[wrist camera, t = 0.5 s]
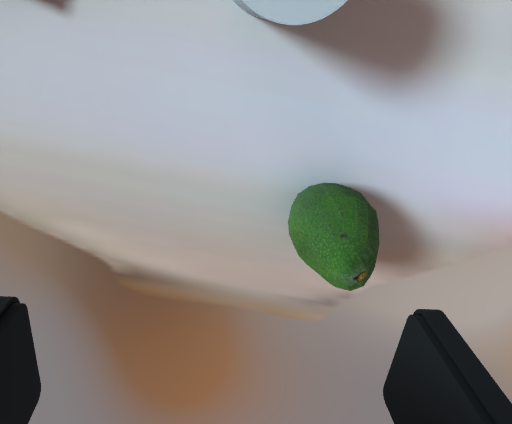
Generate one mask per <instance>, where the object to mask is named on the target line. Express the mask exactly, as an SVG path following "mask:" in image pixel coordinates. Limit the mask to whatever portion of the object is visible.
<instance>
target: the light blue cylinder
mask: <svg viewBox="0 0 512 424" xmlns="http://www.w3.org/2000/svg"><path fill="white" fill-rule="evenodd" d="M233 1H234V2H235V3H236V4H237V5H238V6H239V7H240V8H241V9H243V10H244V11H246V12H247V13H249V14H251V15H253V16H256V17H259V18H262V19H266V20H269V21H273V22H276V23H280V24H286V25H302V24H308V23H312V22H315V21H318V20H320V19H323V18H325V17H327V16H328V15H330V14H332V13H333V12H335V11H336V10H337V9H339V8H340V7H341V6H342V5H343V4H344V3H345V2H346V1H347V0H233Z"/></svg>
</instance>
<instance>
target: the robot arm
mask: <svg viewBox="0 0 512 424" xmlns="http://www.w3.org/2000/svg"><path fill="white" fill-rule="evenodd" d="M40 392H41V383H40V377H39V371H38V366H37V360H36V355H35V349H34V343H33V338H32V333H31V326H30V321H29V316H28V310H27V306H26V305H25V304H22V303H20V302H19V300H18V298H16V297H3V296H0V424H28V422H29V420H30V417H31V416H32V413H33V411H34V409H35V407H36V405H37V403H38V400H39V397H40ZM383 396H384V400H385V403H386V406H387V408H388V410H389V412H390V415H391V417H392V419H393V422H394V424H512V404H511V402H510V401H509V399H508V398H507V397H506V395H505V394H504V393H503V392H502V390H501V389H500V388H499V386H498V385H497V383H496V382H495V381H494V380H493V378H492V377H491V376H490V374H489V373H488V371H487V370H486V369H485V368H484V366H483V365H482V363H481V362H480V361H479V359H478V358H477V357H476V355H475V354H474V353H473V351H472V350H471V349H470V347H469V346H468V345H467V343H466V342H465V341H464V340H463V338H462V337H461V335H460V334H459V333H458V331H457V330H456V329H455V327H454V326H453V325H452V323H451V322H450V321H449V319H448V318H447V317H446V315H445V314H444V313H443V312H442V311H440V310H430V309H418V310H416V311H415V312H414V314H413V315H410V316H409V317H408V319H407V321H406V324H405V327H404V330H403V333H402V335H401V338H400V341H399V344H398V347H397V350H396V353H395V356H394V358H393V361H392V364H391V367H390V370H389V373H388V375H387V379H386V381H385V384H384V388H383Z"/></svg>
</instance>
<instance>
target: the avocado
mask: <svg viewBox="0 0 512 424" xmlns="http://www.w3.org/2000/svg"><path fill="white" fill-rule="evenodd" d="M288 225H289V235H290V237H291V240H292V242H293V244H294V247H295V249H296V251H297V253H298V255H299V256H300V257H301V259H302V260H303V261H304V262H305V263H306V264H307V265H308V266H310V267H311V268H312V269H313V270H315V271H316V272H317V273H318V274H319V275H321V276H322V277H323V278H324V279H325V280H326V281H327V282H329V283H330V284H332V285H333V286H335V287H337V288H341V289H345V290H349V291H352V290H354V289H357V288H360V287H362V286H364V285H365V283H366V282H367V280H368V279H369V278H370V276H371V274H372V272H373V270H374V268H375V263H376V258H377V252H378V247H379V228H378V220H377V214H376V211H375V210H374V209H373V208H372V206H371V205H370V204H369V203H368V202H367V200H366V199H365V198H364V197H363V195H362V194H361V193H359V192H357V191H355V190H353V189H351V188H349V187H346V186H343V185H339V184H334V183H321V184H317V185H313V186H309V187H308V188H306V189H305V190H304V191H302V192H301V193H299V194H298V195H297V197H296V199H295V201H294V203H293V205H292V207H291V211H290V216H289V221H288Z"/></svg>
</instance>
